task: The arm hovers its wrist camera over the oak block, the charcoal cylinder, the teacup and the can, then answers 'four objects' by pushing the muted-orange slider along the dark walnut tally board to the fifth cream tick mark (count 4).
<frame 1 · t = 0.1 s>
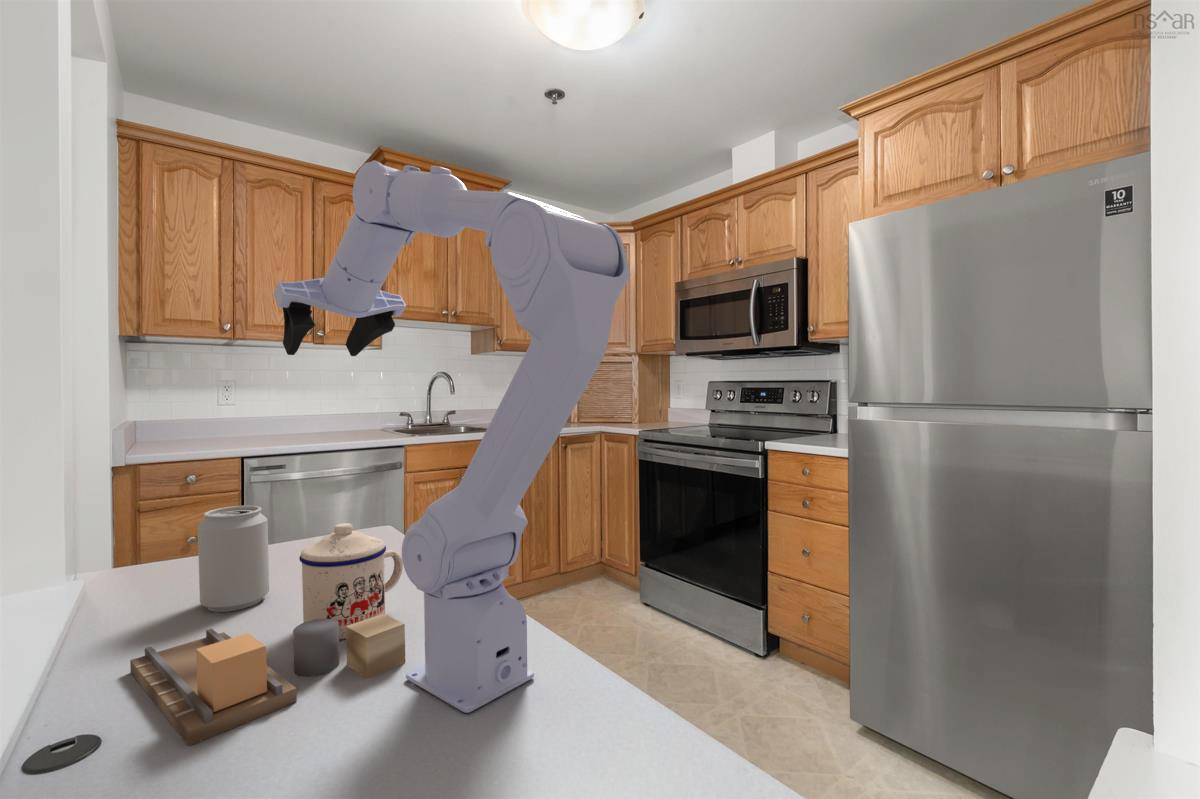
hand: (320, 349, 72), 32 cm above the countertop, tool tilted 50°, fingers open, 7 cm apart
charcoal cylinder: (317, 667, 57), on the countertop
teacup with lid: (357, 622, 68), on the countertop
slider: (231, 670, 50), point 3 cm above the countertop, slide at 0.0 cm
tally board: (209, 686, 54), on the countertop
can: (235, 604, 74), on the countertop
oak block: (376, 664, 58), on the countertop
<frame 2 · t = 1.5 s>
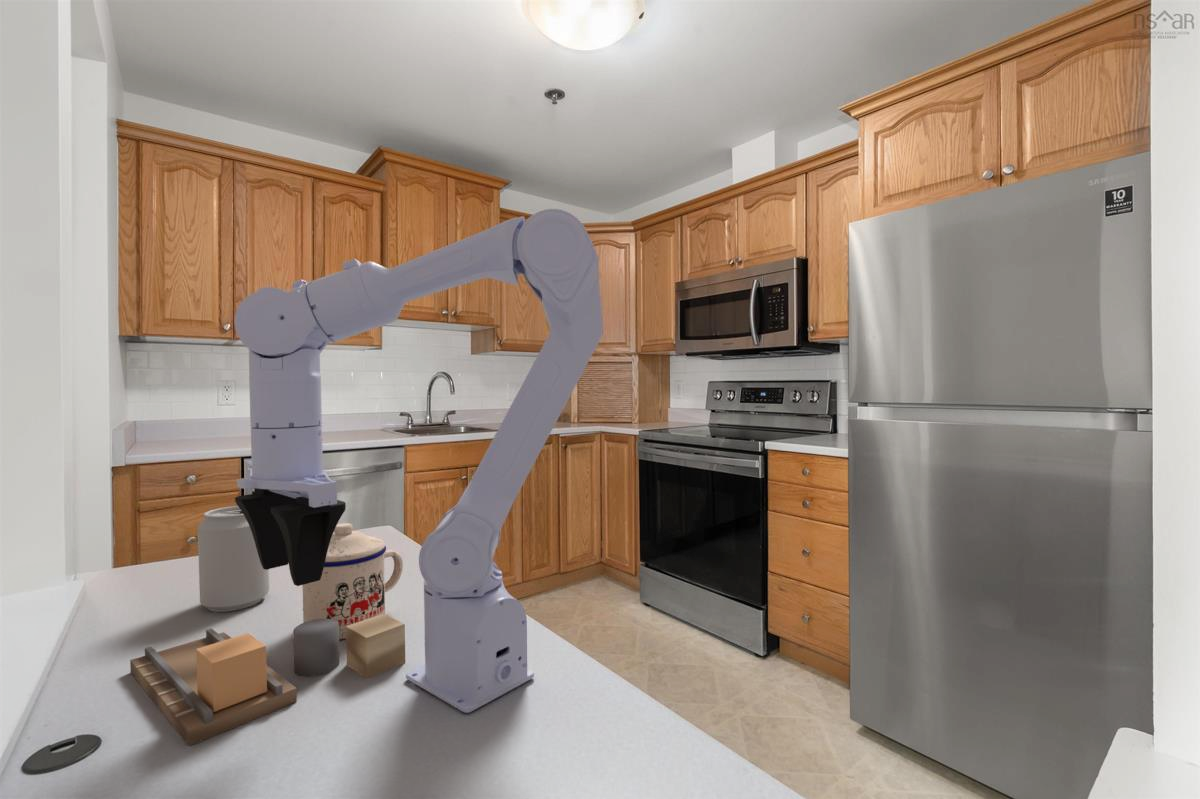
hand: (290, 574, 53), 10 cm above the countertop, tool pointing down, fingers open, 6 cm apart
nothing on the countertop moved.
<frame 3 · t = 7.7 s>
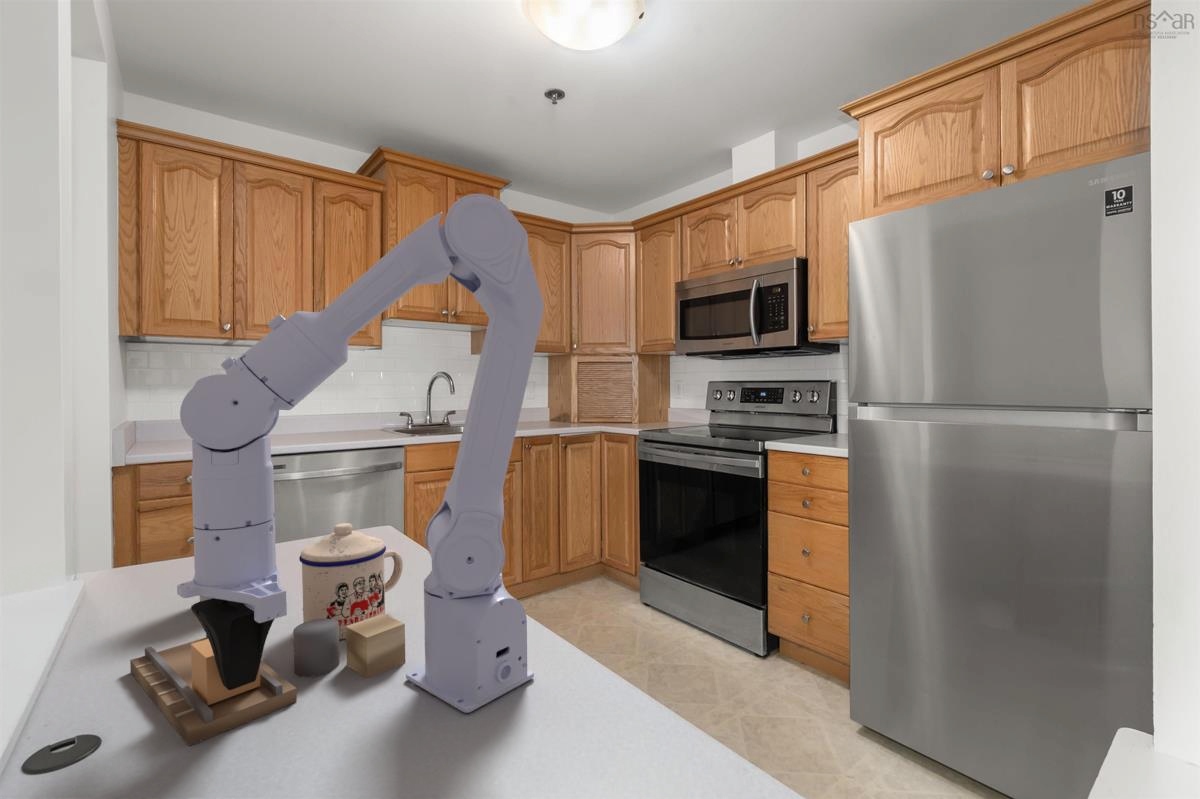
hand: (239, 683, 48), 3 cm above the countertop, tool pointing down, fingers closed
slider: (225, 665, 51), point 3 cm above the countertop, slide at 1.5 cm, touching gripper
everything else where it was.
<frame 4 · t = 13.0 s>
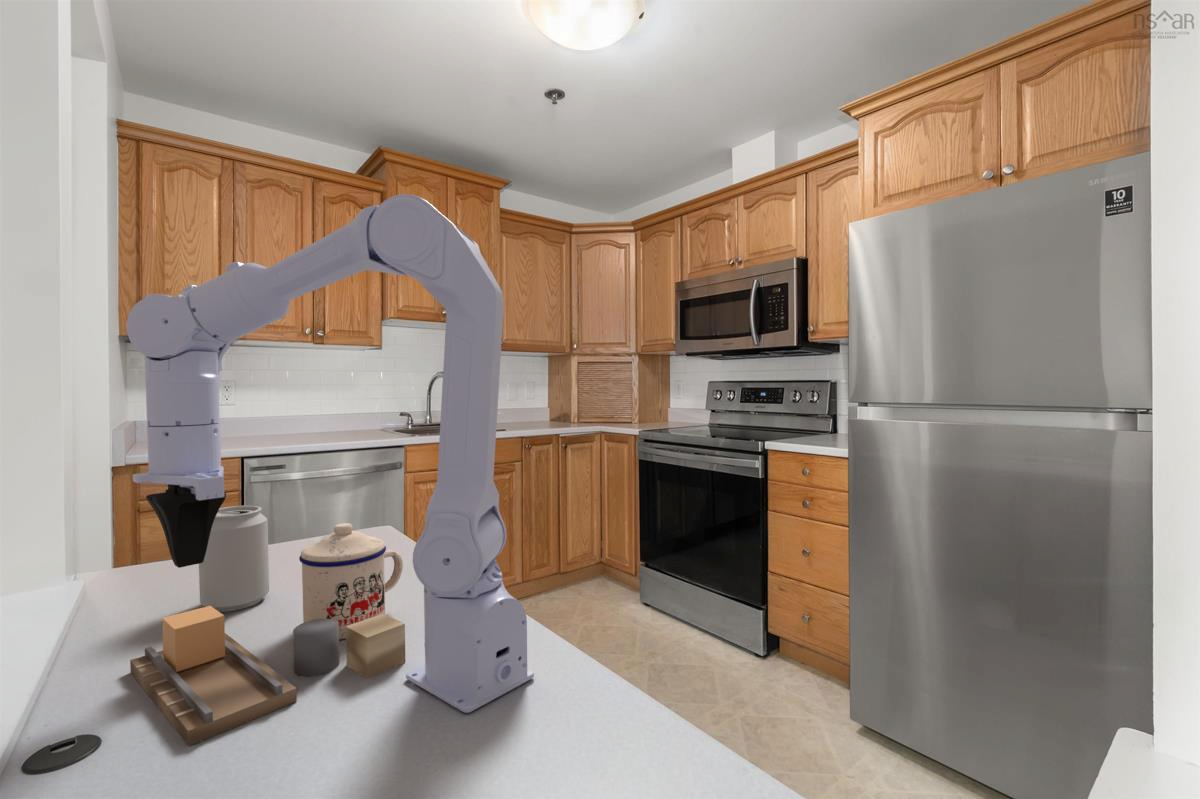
hand: (188, 564, 57), 10 cm above the countertop, tool pointing down, fingers closed
slider: (193, 637, 56), point 3 cm above the countertop, slide at 10.2 cm
everything else where it was.
at the end: slider slide at 10.2 cm; charcoal cylinder moved 0.1 cm from its start; teacup with lid moved 0.2 cm from its start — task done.
